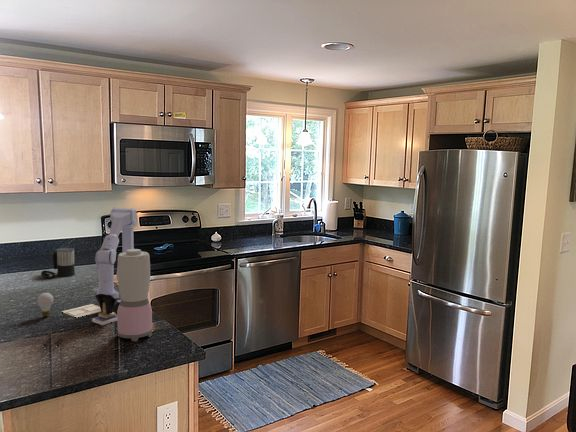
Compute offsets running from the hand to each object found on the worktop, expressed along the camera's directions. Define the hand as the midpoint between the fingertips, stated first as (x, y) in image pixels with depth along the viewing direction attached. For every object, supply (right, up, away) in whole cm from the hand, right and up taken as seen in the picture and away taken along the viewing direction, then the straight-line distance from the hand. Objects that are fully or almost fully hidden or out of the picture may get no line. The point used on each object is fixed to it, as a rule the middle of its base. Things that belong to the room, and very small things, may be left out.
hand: (106, 312), depth 188 cm
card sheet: (-14, -2, +12) cm, 18 cm away
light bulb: (-26, -3, +3) cm, 27 cm away
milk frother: (-54, +5, +71) cm, 89 cm away
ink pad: (0, -3, 0) cm, 3 cm away
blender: (+15, -5, -14) cm, 22 cm away
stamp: (0, -2, 0) cm, 2 cm away
